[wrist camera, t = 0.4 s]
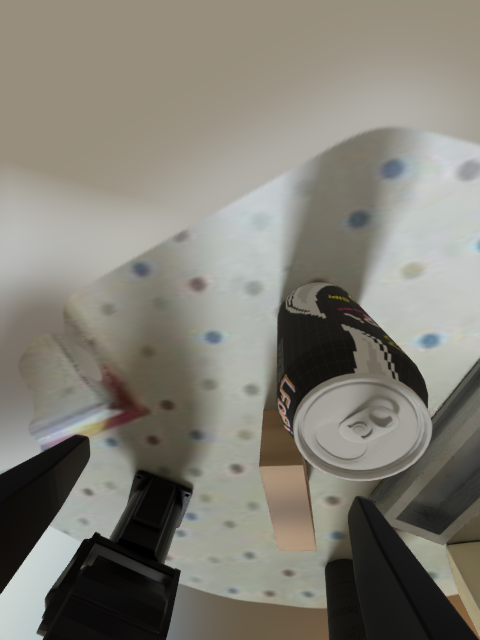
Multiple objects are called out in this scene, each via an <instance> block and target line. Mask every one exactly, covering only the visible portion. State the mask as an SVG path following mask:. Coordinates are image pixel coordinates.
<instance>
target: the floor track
mask: <svg viewBox="0 0 480 640" xmlns="http://www.w3.org/2000/svg"><path fill="white" fill-rule="evenodd" d="M431 421H432V436H431V439H430V442H429V445H428V447H427V448H426V450H425V452H424V453H423V455H422V456H421V457H420V458H419V459H418V460H417V461H416V462H415V463H414V464H412V465H411V466H410V467H408V468H407V469H405V470H404V471H401V472H399V473H397V474H395V475H393V476H390V477H386V478H384V479H383V481H382V482H381V483H380V484H379V486H378V487H377V488H376V489H375V491H374V492H373V493H372V494H371V496H370V498H371V500H372V501H375V502H376V503H375V506H376V507H377V508H378V509H379V511H380V512H381V513H382V515H383V516H384V517H385V518H386V520H387V521H388V522H389V524H390V525H391V526H392V527H395V528H398V529H401V530H403V531H406V532H409V533H411V534H414V535H417V536H419V537H422V538H425V539H427V540H430V541H433V542H436V543H438V544H441V545H444V544H445V543H446V542H448V541H449V540H450V539H451V538H452V537H453V536H454V535H455V534H456V533H457V532H459V531H460V530H461V529H462V528H463V527H464V526H465V525H466V524H467V523H468V522H469V521H471V520H472V519H473V518H474V517H475V516H476V515H477V514H478V513H479V512H480V363H477V364H476V365H475V366H474V367H473V369H472V370H471V371H470V372H469V374H468V375H467V376H466V377H465V379H464V380H463V381H462V382H461V384H460V385H459V386H458V387H457V389H456V390H455V391H454V392H453V394H452V395H451V396H450V397H449V399H448V400H447V401H446V402H445V404H444V405H443V406H442V407H441V408H440V410H439V411H438V412H437V413H436V415H435V416H434V417H433V418H432V420H431Z"/></svg>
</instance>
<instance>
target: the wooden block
mask: <svg viewBox="0 0 480 640" xmlns="http://www.w3.org/2000/svg"><path fill="white" fill-rule="evenodd" d="M259 468H260V473H261V477H262V481H263V486H264V490H265V494H266V499H267V503H268V507H269V512H270V516H271V521H272V525H273V529H274V534H275V538H276V542H277V547H278V550H289V551H316V543H315V534H314V532H315V531H314V523H313V514H312V506H311V497H310V489H309V481H308V475H307V468H306V462H305V458H304V457H303V455H302V454H301V453H300V451H299V449H298V447H297V445H296V442H295V440H294V439H293V438H292V437H291V435H290V434H289V433H288V431H287V430H286V429H285V427H284V424H283V422H282V420H281V418H280V415H279V411H278V409H273V410H263V423H262V436H261V449H260V462H259Z"/></svg>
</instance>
